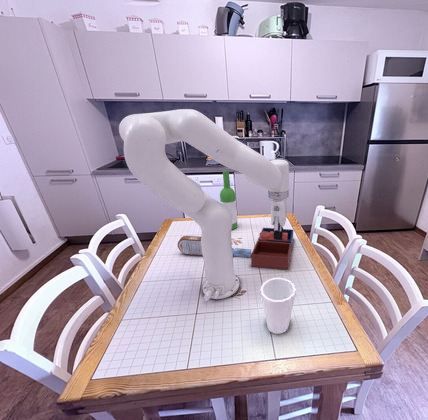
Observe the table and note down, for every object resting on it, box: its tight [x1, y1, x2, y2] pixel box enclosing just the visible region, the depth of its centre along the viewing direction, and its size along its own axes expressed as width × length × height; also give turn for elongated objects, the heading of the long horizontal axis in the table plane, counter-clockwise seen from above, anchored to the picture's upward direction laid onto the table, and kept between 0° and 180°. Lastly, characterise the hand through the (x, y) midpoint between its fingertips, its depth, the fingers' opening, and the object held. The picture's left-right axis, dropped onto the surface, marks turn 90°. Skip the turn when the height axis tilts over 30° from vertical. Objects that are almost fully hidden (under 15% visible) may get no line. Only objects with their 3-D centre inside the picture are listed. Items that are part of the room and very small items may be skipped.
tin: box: [177, 235, 203, 257], centre depth 100 cm, size 15×3×8 cm, turn 84°
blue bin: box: [257, 227, 294, 251], centre depth 108 cm, size 11×15×6 cm
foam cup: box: [260, 277, 297, 335], centre depth 66 cm, size 10×9×13 cm
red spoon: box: [258, 231, 288, 241], centre depth 94 cm, size 11×4×3 cm, turn 82°
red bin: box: [250, 240, 292, 271], centre depth 97 cm, size 11×15×6 cm
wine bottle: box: [219, 170, 238, 230], centre depth 120 cm, size 8×8×30 cm
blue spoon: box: [232, 247, 252, 258], centre depth 101 cm, size 11×4×3 cm, turn 82°
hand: (278, 237), depth 94 cm, fingers closed on red spoon, 2 cm apart
